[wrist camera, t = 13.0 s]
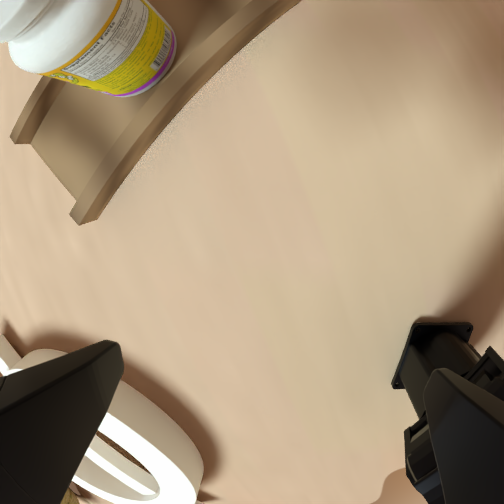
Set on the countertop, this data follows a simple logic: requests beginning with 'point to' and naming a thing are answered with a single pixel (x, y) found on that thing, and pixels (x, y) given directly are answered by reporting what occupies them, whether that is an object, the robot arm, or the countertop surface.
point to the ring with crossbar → (129, 446)
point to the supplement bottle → (90, 42)
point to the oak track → (134, 101)
